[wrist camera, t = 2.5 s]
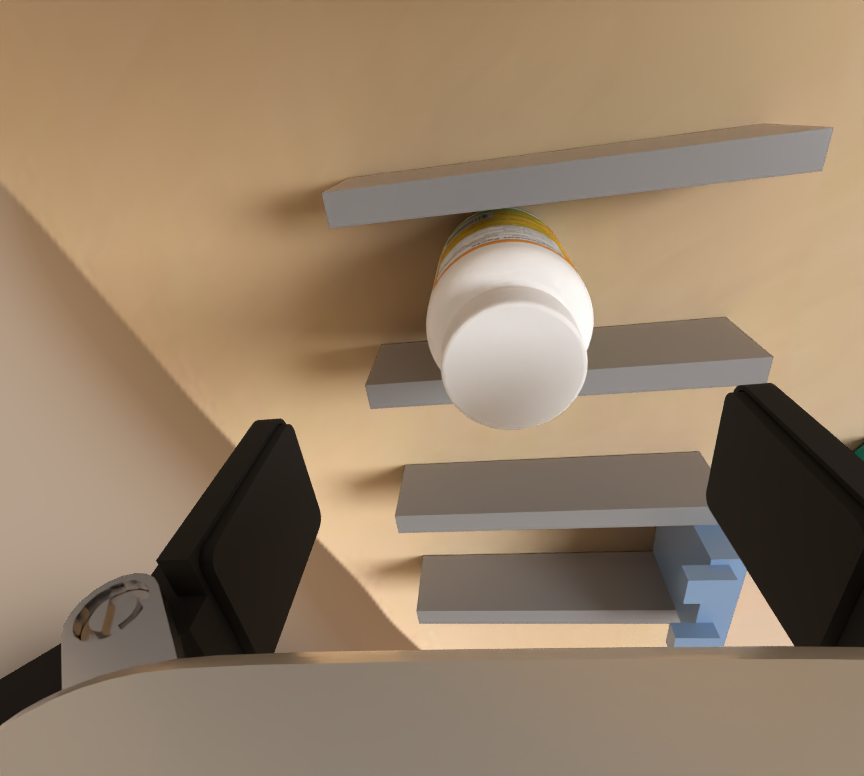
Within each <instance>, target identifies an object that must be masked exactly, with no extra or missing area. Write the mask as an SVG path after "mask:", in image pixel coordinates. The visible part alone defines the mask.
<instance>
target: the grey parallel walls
mask: <svg viewBox="0 0 864 776" xmlns="http://www.w3.org/2000/svg"><path fill="white" fill-rule="evenodd" d="M833 128H834V127H817V126H799V125H781V124H757V125H749V126H742V127H734V128H726V129H719V130H711V131H704V132H696V133H688V134H681V135H673V136H665V137H658V138H650V139H643V140H635V141H627V142H620V143H612V144H604V145H597V146H589V147H581V148H574V149H566V150H559V151H551V152H543V153H536V154H528V155H520V156H513V157H505V158H498V159H490V160H482V161H475V162H467V163H459V164H452V165H444V166H437V167H429V168H421V169H414V170H406V171H398V172H391V173H383V174H375V175H368V176H360V177H353V178H348V179H346V180H344V181H342V182H340V183H339V184H337V185H335V186H333V187H331V188H329V189H328V190H326V191H324V192H322V198H323V202H324V206H325V211H326V215H327V220H328V224H329V228H339V227H347V226H356V225H364V224H373V223H382V222H390V221H399V220H407V219H416V218H424V217H433V216H441V215H450V214H459V213H467V212H476V211H484V210H493V209H501V208H510V207H518V206H527V205H536V204H544V203H553V202H561V201H570V200H578V199H587V198H596V197H604V196H613V195H621V194H630V193H638V192H647V191H655V190H664V189H673V188H681V187H690V186H698V185H707V184H715V183H724V182H732V181H741V180H750V179H758V178H767V177H775V176H784V175H792V174H801V173H810V172H818V171H822V170H823V166H824V162H825V158H826V154H827V151H828V147H829V143H830V139H831V135H832V131H833ZM587 358H588V365H587V374H586V378H585V381H584V384H583V386H582V389H581V390H580V392H579V394H578V395H577V396H585V395H601V394H617V393H633V392H649V391H665V390H681V389H697V388H713V387H729V386H739V385H748V384H761V383H767V380H768V376H769V372H770V368H771V364H772V360H773V356H772V355H771V354H769V353H768V352H767V351H766V350H765V349H763V348H762V347H761V346H760V345H759V344H757V343H756V342H755V341H754V340H753V339H752V338H750V337H749V336H748V335H747V334H746V333H744V332H743V331H742V330H741V329H740V328H738V327H737V326H736V325H735V324H734V323H733V322H731V321H730V320H729V319H728V318H727V317H719V318H707V319H695V320H682V321H670V322H658V323H645V324H633V325H621V326H608V327H596V328H593V332H592V337H591V340H590V343H589V347H588V349H587ZM365 387H366V391H367V395H368V400H369V404H370V409H377V408H393V407H409V406H425V405H441V404H453V402H452V401H451V400H450V398H449V396H448V394H447V392H446V390H445V388H444V385H443V381H442V377H441V370H440V368H439V367H438V366H437V364H436V362H435V360H434V358H433V356H432V354H431V351H430V348H429V345H428V341H423V342H411V343H399V344H386V345H381V347H380V350H379V352H378V355H377V357H376V360H375V362H374V365H373V367H372V370H371V372H370V375H369V377H368V380H367V382H366V385H365ZM710 470H711V469H710V467H709V466H708V464H707V463H706V461H705V459H704V458H703V456H702V455H701V453H700V452H681V453H659V454H637V455H615V456H593V457H571V458H549V459H527V460H505V461H484V462H462V463H440V464H418V465H405V469H404V474H403V479H402V484H401V489H400V494H399V499H398V504H397V509H396V514H395V519H396V523H397V527H398V532H399V533H417V532H456V531H494V530H533V529H571V528H610V527H648V526H656V533H655V539H654V545H653V551H645V552H593V553H541V554H489V555H437V556H423V562H422V570H421V578H420V586H419V595H418V603H417V615H418V620H419V624H669V629H668V634H667V639H666V643H667V646H668V647H718V646H724V643H725V640H726V637H727V633H728V630H729V627H730V624H731V620H732V617H733V614H734V611H735V607H736V604H737V601H738V598H739V594H740V591H741V588H742V585H743V581H744V578H745V575H746V572H747V569H746V567H745V566H744V564H743V563H742V561H741V559H740V558H739V556H738V555H737V553H736V551H735V550H734V548H733V547H732V545H731V543H730V542H729V540H728V539H727V537H726V535H725V534H724V532H723V531H722V529H721V527H720V526H719V524H718V523H717V521H716V519H715V518H714V516H713V515H712V513H711V511H710V510H709V508H708V505H707V501H706V490H707V485H708V480H709V475H710Z"/></svg>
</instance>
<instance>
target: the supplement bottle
mask: <svg viewBox="0 0 864 776" xmlns="http://www.w3.org/2000/svg"><path fill="white" fill-rule="evenodd" d="M593 322H594V321H593V308H592V303H591V299H590V296H589V293H588V291H587V289H586V286H585V284H584V282H583V281H582V279H581V277H580V276H579V274H578V272H577V271H576V269H575V268H574V266H573V264H572V263H571V261H570V259H569V258H568V256H567V254H566V253H565V251H564V250H563V248H562V246H561V245H560V243H559V242H558V240H557V238H556V237H555V235H554V234H553V233H552V231H551V230H550V229H549V228H548V227H547V225H546V224H544V223H543V222H542V221H541V220H540V219H538V218H537V217H535V216H534V215H532V214H530V213H528V212H525V211H523V210H520V209H516V208H501V209H493V210H484V211H480V212H478V213H476V214H474V215H472V216H470V217H468V218H467V219H465V220H464V221H463V222H462V223H460V224H459V225H458V226H457V227H456V228H455V230H454V231H453V232H452V233H451V235H450V236H449V238H448V239H447V241H446V243H445V245H444V247H443V250H442V253H441V256H440V259H439V263H438V267H437V272H436V276H435V280H434V285H433V289H432V293H431V297H430V301H429V305H428V311H427V318H426V334H427V340H428V345H429V348H430V351H431V354H432V356H433V358H434V360H435V362H436V364H437V366H438V367H439V368H440V370H441V377H442V381H443V385H444V388H445V390H446V392H447V394H448V396H449V398H450V400H451V401H452V402H453V404H454V405H455V406H456V407H457V408H458V409H459V410H460V411H461V412H462V413H463V414H465V415H466V416H467V417H469V418H470V419H472V420H474V421H475V422H477V423H480V424H482V425H485V426H488V427H491V428H496V429H503V430H520V429H526V428H531V427H535V426H538V425H541V424H543V423H545V422H548V421H550V420H551V419H553V418H555V417H556V416H558V415H559V414H561V413H562V412H563V411H564V410H566V409H567V408H568V407H569V405H570V404H571V403H572V402H573V401H574V400H575V399H576V397H577V395H578V394H579V392H580V390H581V389H582V386H583V384H584V381H585V378H586V374H587V365H588V358H587V349H588V347H589V343H590V340H591V337H592V332H593Z"/></svg>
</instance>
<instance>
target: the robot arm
mask: <svg viewBox="0 0 864 776" xmlns="http://www.w3.org/2000/svg"><path fill="white" fill-rule="evenodd" d="M706 501H707V505H708V508H709V510H710V511H711V513H712V515H713V516H714V518H715V519H716V521H717V523H718V524H719V526H720V527H721V529H722V531H723V532H724V534H725V535H726V537H727V539H728V540H729V542H730V543H731V545H732V547H733V548H734V550H735V551H736V553H737V555H738V556H739V558H740V559H741V561H742V563H743V564H744V566H745V567H746V569H747V571H748V572H749V574H750V575H751V577H752V579H753V580H754V582H755V583H756V585H757V587H758V588H759V590H760V592H761V593H762V595H763V596H764V598H765V600H766V601H767V603H768V604H769V606H770V608H771V609H772V611H773V612H774V614H775V616H776V617H777V619H778V620H779V622H780V624H781V625H782V627H783V628H784V630H785V632H786V633H787V635H788V636H789V638H790V640H791V641H792V643H793V644H794V646H758V647H618V648H532V649H457V650H399V651H349V652H348V651H344V652H295V653H274V652H275V649H276V646H277V643H278V641H279V638H280V635H281V632H282V630H283V627H284V624H285V621H286V619H287V616H288V613H289V610H290V608H291V605H292V602H293V599H294V596H295V594H296V591H297V588H298V585H299V583H300V580H301V577H302V574H303V572H304V569H305V566H306V563H307V561H308V558H309V555H310V552H311V550H312V547H313V544H314V541H315V539H316V536H317V533H318V530H319V528H320V523H321V513H320V509H319V506H318V503H317V500H316V497H315V493H314V490H313V487H312V484H311V481H310V478H309V475H308V472H307V468H306V465H305V462H304V459H303V456H302V453H301V450H300V447H299V443H298V440H297V437H296V434H295V431H294V428H293V427H292V425H290V424H286V423H285V422H284V420H283V419H268V420H257V421H255V422H254V423H253V424H252V426H251V427H250V429H249V430H248V431H247V433H246V434H245V436H244V437H243V438H242V440H241V441H240V443H239V444H238V445H237V447H236V448H235V450H234V451H233V453H232V454H231V456H230V457H229V458H228V460H227V461H226V462H225V464H224V465H223V467H222V468H221V470H220V471H219V472H218V474H217V475H216V477H215V478H214V480H213V481H212V482H211V484H210V485H209V487H208V488H207V489H206V491H205V492H204V494H203V495H202V497H201V498H200V499H199V501H198V502H197V503H196V505H195V506H194V508H193V509H192V510H191V512H190V513H189V515H188V516H187V518H186V519H185V520H184V522H183V523H182V525H181V526H180V527H179V529H178V530H177V532H176V533H175V535H174V536H173V537H172V539H171V540H170V542H169V543H168V544H167V546H166V547H165V549H164V550H163V551H162V553H161V554H160V556H159V557H158V559H157V560H156V561H157V563H158V566H157V568H156V569H155V571H154V572H153V573H152V575H151V576H150V575H148V574H142V573H134V574H129V575H125V576H121V577H119V578H116V579H114V580H112V581H109V582H107V583H105V584H104V585H102V586H100V587H99V588H97V589H96V590H94V591H93V592H91V593H90V594H89V595H88V596H87V597H85V598H84V599H83V600H82V601H81V602H80V603H79V604H78V605H77V606H76V607H75V608H74V610H73V611H72V612H71V613H70V615H69V616H68V618H67V620H66V622H65V623H64V626H63V630H62V635H61V644H59V645H57V646H56V647H54V648H52V649H51V650H49V651H48V652H46V653H44V654H42V655H41V656H39V657H38V658H36V659H34V660H32V661H31V662H29V663H27V664H25V665H24V666H22V667H20V668H19V669H17V670H15V671H14V672H12V673H10V674H9V675H7V676H5V677H3V678H2V679H0V776H864V461H863V460H862V459H861V458H859V457H858V456H857V455H856V454H855V453H854V452H852V451H851V450H850V449H849V448H848V447H847V446H845V445H844V444H843V443H842V442H841V441H840V440H838V439H837V438H836V437H835V436H834V435H833V434H831V433H830V432H829V431H828V430H827V429H826V428H824V427H823V426H822V425H821V424H820V423H819V422H817V421H816V420H815V419H814V418H813V417H812V416H810V415H809V414H808V413H807V412H806V411H805V410H803V409H802V408H801V407H800V406H799V405H798V404H796V403H795V402H794V401H793V400H792V399H791V398H789V397H788V396H787V395H786V394H785V393H784V392H782V391H781V390H780V389H779V388H778V387H777V386H775V385H774V384H772V383H761V384H748V385H739V386H737V387H736V388H735V390H734V392H733V393H728V394H727V396H726V397H725V401H724V406H723V411H722V416H721V420H720V425H719V430H718V435H717V440H716V445H715V450H714V455H713V460H712V465H711V470H710V475H709V480H708V485H707V490H706Z"/></svg>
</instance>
